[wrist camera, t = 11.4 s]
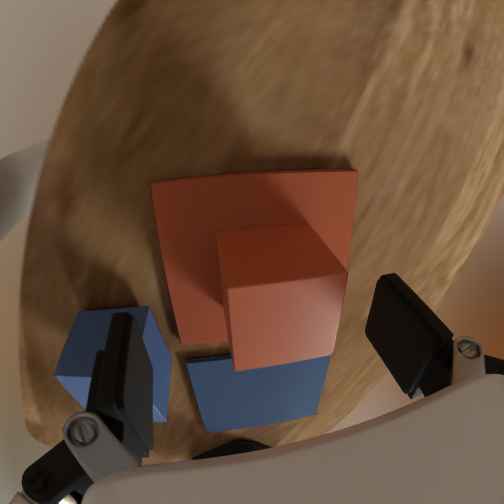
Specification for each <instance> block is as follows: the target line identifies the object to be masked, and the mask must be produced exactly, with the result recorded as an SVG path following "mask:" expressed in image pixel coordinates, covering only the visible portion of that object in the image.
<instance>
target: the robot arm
mask: <svg viewBox="0 0 504 504" xmlns="http://www.w3.org/2000/svg"><path fill="white" fill-rule="evenodd" d="M365 333H366V336H367V338H368V339H369V341H370V342H371V344H372V345H373V347H374V348H375V350H376V351H377V353H378V354H379V356H380V357H381V359H382V360H383V362H384V363H385V365H386V366H387V368H388V369H389V371H390V372H391V374H392V375H393V377H394V379H395V380H396V382H397V383H398V385H399V386H400V388H401V389H402V391H403V392H404V393H405V394H408V396H409V397H410V399H413V398H415V397H417V396H419V395H421V394H422V393H423V395H424V396H425V397H424V398H423V399H420V400H418V401H416V402H414V403H411V404H409V405H406V406H404V407H402V408H399V409H397V410H395V411H392V412H389V413H387V414H384V415H382V416H379V417H376V418H374V419H371V420H368V421H365V422H363V423H360V424H357V425H354V426H351V427H348V428H345V429H342V430H338V431H335V432H332V433H328V434H325V435H321V436H318V437H314V438H310V439H307V440H303V441H299V442H295V443H290V444H286V445H282V446H277V447H273V448H268V449H263V450H258V451H252V452H247V453H241V454H235V455H228V456H221V457H214V458H207V459H198V460H189V461H178V462H170V463H160V464H152V465H146V466H142V465H141V463H142V457H149V450H153V367H152V363H151V361H150V358H149V355H148V353H147V350H146V347H145V344H144V341H143V338H142V335H141V332H140V329H139V326H138V323H137V320H136V317H135V316H134V315H130V313H129V312H118V313H113V315H112V318H111V323H110V327H109V332H108V336H107V341H106V346H105V350H98V352H97V354H96V357H95V362H94V367H93V372H92V377H91V382H90V388H89V393H88V399H87V405H86V412H79V413H76V414H74V415H72V416H71V417H70V418H69V419H67V421H66V423H65V424H64V427H63V438H64V440H62V441H61V442H60V443H59V444H57V445H56V446H55V447H54V448H52V449H51V450H50V451H48V452H47V453H46V454H45V455H43V456H42V457H41V458H39V459H38V460H37V461H36V462H35V463H33V464H32V465H30V466H29V467H28V468H27V469H26V470H25V472H24V474H23V476H22V487H23V490H22V492H21V493H19V492H17V493H16V495H15V496H14V497H13V499H12V501H11V502H10V504H504V360H502V359H498V358H495V357H491V356H487V355H484V351H483V347H482V346H481V344H480V343H479V342H478V341H477V340H475V339H474V338H471V337H469V336H460V337H458V338H456V340H455V341H453V339H452V337H453V333H452V332H451V331H450V330H449V329H448V328H447V327H446V325H445V324H444V323H443V322H442V321H441V320H440V319H439V318H438V317H437V316H436V315H435V313H434V312H433V311H432V310H431V309H430V308H429V307H428V306H427V305H426V304H425V303H424V302H423V301H422V300H421V299H420V298H419V297H418V295H417V294H416V293H415V292H414V291H413V290H412V289H411V288H410V287H409V286H408V285H407V284H406V283H405V282H404V281H403V280H402V279H401V278H400V277H399V276H398V275H397V274H395V273H391V274H386V275H382V276H381V277H380V279H379V280H378V281H377V284H376V288H375V292H374V297H373V301H372V305H371V309H370V313H369V316H368V320H367V324H366V328H365Z"/></svg>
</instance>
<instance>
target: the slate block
mask: <svg viewBox="0 0 504 504" xmlns="http://www.w3.org/2000/svg"><path fill="white" fill-rule="evenodd" d="M118 312H129V313H130V315H134V316H135V317H136V320H137V323H138V326H139V329H140V332H141V335H142V338H143V341H144V344H145V347H146V350H147V353H148V355H149V358H150V361H151V363H152V367H153V422H166V421H167V409H168V396H169V384H170V373H171V363H172V357H171V355H170V353H169V350H168V348H167V346H166V344H165V342H164V339H163V337H162V335H161V333H160V330H159V328H158V326H157V324H156V321H155V319H154V317H153V314H152V312H151V309H150V307H149V306H141V307H130V308H119V309H106V310H93V311H79V312H78V313H77V316H76V318H75V320H74V323H73V325H72V328H71V330H70V333H69V335H68V338H67V340H66V343H65V345H64V348H63V351H62V353H61V356H60V359H59V361H58V364H57V367H56V370H55V373H54V376H55V377H56V379H57V380H58V381H59V382H60V383H61V384H62V385H63V386H64V388H65V389H66V390H67V391H68V392H69V393H70V394H71V395H72V396H73V397H74V398H75V399H76V401H77V402H78V403H79V404H80V405H81V406H82V407H83V408H84V409H85V410H86V405H87V399H88V393H89V388H90V382H91V377H92V372H93V367H94V362H95V357H96V354H97V352H98V350H105V346H106V341H107V336H108V332H109V327H110V323H111V318H112V315H113V313H118Z"/></svg>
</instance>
